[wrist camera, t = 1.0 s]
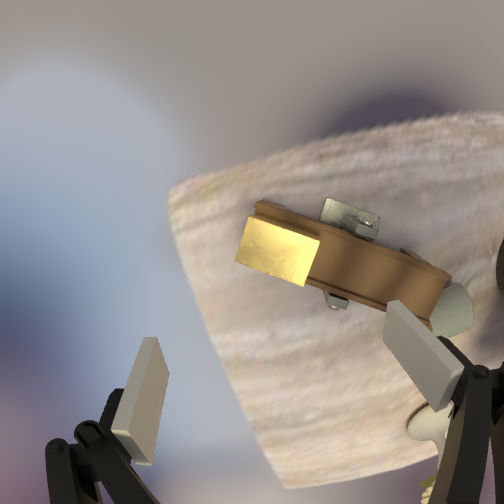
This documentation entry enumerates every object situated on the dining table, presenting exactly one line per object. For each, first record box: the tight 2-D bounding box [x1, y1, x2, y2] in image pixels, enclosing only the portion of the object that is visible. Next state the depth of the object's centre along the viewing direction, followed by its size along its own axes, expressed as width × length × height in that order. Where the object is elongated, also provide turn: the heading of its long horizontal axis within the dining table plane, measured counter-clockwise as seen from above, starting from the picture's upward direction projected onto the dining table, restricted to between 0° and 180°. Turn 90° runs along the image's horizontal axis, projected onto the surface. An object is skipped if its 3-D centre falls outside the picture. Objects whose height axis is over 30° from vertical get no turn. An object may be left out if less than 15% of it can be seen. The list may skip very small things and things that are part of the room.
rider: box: [235, 212, 320, 286], centre depth 30 cm, size 7×5×5 cm, turn 73°
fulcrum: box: [262, 197, 431, 310], centre depth 35 cm, size 24×12×9 cm, turn 73°
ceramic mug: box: [427, 283, 474, 339], centre depth 36 cm, size 11×8×8 cm
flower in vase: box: [407, 402, 453, 504], centre depth 34 cm, size 13×11×25 cm
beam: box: [254, 201, 452, 327], centre depth 31 cm, size 24×7×2 cm, turn 73°
